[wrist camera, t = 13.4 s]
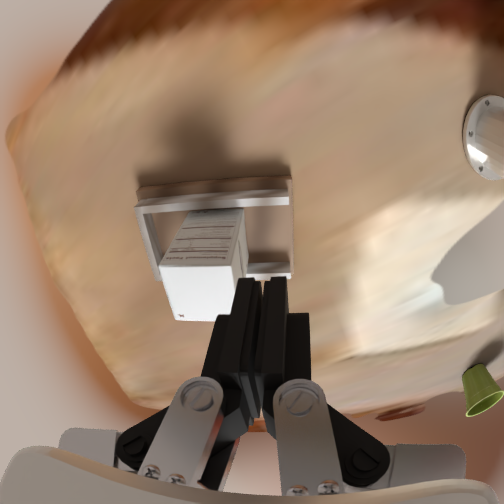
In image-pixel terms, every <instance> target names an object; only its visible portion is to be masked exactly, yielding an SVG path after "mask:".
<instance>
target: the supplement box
mask: <svg viewBox="0 0 504 504" xmlns="http://www.w3.org/2000/svg"><path fill="white" fill-rule="evenodd" d="M248 258H249V254H248V248H247V241H246V231H245V218H244V209H221V210H202V211H190V212H189V213H188V215H187V217H186V218H185V220H184V222H183V224H182V225H181V227H180V229H179V230H178V232H177V234H176V236H175V237H174V239H173V241H172V242H171V244H170V246H169V248H168V250H167V251H166V253H165V255H164V257H163V258H162V260H161V262H160V264H159V271H160V275H161V277H162V281H163V284H164V287H165V290H166V294H167V297H168V300H169V303H170V306H171V309H172V312H173V315H174V318H175V320H186V321H216V318H217V315H218V314H230V312H231V308H232V303H233V299H234V295H235V290H236V286H237V281H238V278H246V271H247V265H248Z"/></svg>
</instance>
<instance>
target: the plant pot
mask: <svg viewBox="0 0 504 504" xmlns="http://www.w3.org/2000/svg"><path fill="white" fill-rule="evenodd" d="M462 381H463V386H464V392H465V397H466V403H467V404H466V408H467V412H466V416H467V417H471V416H475V415H477V414H479V413H481V412H483V411H485V410H487V409H488V408H490V407H492V406H493V405H494V404H496V403H497V402H498V401H499V400H500V399H501V398H502V397H503V395H504V391H503V390H501V389H500V387H499V386H498V385H497V384H496V382H495V381H494V379H493V378H492V376H491V375H490V373H489V372H488V370H487V369H486V367H485V366H484V365H483V364H477V365H475V366H474V367H473V368H471V369H468V370H467V371H466V372H465V373H464V375H463V376H462Z"/></svg>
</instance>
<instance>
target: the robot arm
mask: <svg viewBox="0 0 504 504" xmlns="http://www.w3.org/2000/svg"><path fill="white" fill-rule="evenodd" d="M463 144H464V150H465V154H466V157H467V159H468V161H469V163H470V165H471V167H472V168H473V169H474V170H475V171H476V172H477V173H478V174H479V175H481V176H482V177H484V178H486V179H489V180H500V179H502V178H504V98H503V97H500V96H496V95H486V96H483V97H481V98H479V99H478V100H477V101H476V102H475V103H474V104H473V105H472V106H471V108H470V109H469V111H468V114H467V116H466V119H465V123H464V129H463ZM261 408H262V412H263V417H264V419H265V423H266V428H267V432H268V433H270V435H271V436H273V437H274V438H275V439H276V440H277V450H278V460H279V470H280V480H281V491H282V496H269V495H251V494H239V493H230V492H223V489H224V486H225V483H226V480H227V477H228V475H229V472H230V469H231V466H232V463H233V460H234V457H235V454H236V451H237V448H238V445H239V442H240V436H242V435H243V434H244V433H246V432H247V431H248V427H249V425H253V423H254V418H259V417H260V410H261ZM465 469H466V457H465V453H464V451H463V450H462V449H461V448H460V447H458V446H457V445H452V444H434V445H433V444H429V445H428V444H396V445H395V446H394V445H383V444H382V443H381V442H380V441H378V440H377V439H375V438H374V437H373V436H371V435H370V434H368V433H367V432H365V431H364V430H363V429H361V428H360V427H358V426H357V425H356V424H354V423H353V422H352V421H350V420H349V419H347V418H346V417H345V416H343V415H342V414H341V413H339V412H338V411H337V410H335V409H334V408H333V407H331V406H330V405H329V404H327V402H326V397H325V394H324V392H323V389H322V388H321V387H320V386H319V385H318V384H316V383H315V382H313V381H311V352H310V325H309V313H289V308H288V291H287V277H286V276H276V277H271V279H270V281H265V283H264V292H263V295H262V287H261V282H260V281H255V278H254V277H246V278H238V281H237V286H236V290H235V295H234V299H233V303H232V308H231V312H230V314H218V315H217V318H216V321H215V324H214V328H213V332H212V336H211V339H210V343H209V347H208V351H207V354H206V358H205V362H204V366H203V370H202V373H201V377H195V378H191V379H189V380H187V381H185V382H184V383H183V384H182V385H181V386H180V387H179V389H178V390H177V392H176V394H175V396H174V398H173V400H172V402H171V404H170V406H168V407H166V408H164V409H163V410H161V411H159V412H158V413H156V414H154V415H152V416H151V417H149V418H147V419H145V420H144V421H142V422H140V423H138V424H137V425H135V426H133V427H131V428H129V429H127V430H126V431H125V432H118V431H117V430H101V429H100V430H99V429H84V428H70V429H68V430H66V431H65V432H64V433H63V434H62V436H61V438H60V442H59V447H58V448H54V447H49V446H32V447H27V448H23V449H21V450H19V451H18V452H17V453H16V454H15V455H14V456H13V458H12V459H11V461H10V463H9V464H8V466H7V469H6V470H5V473H4V475H3V477H2V480H1V482H0V504H499V501H498V498H497V496H496V494H495V492H494V490H493V489H492V488H491V487H490V486H488V485H487V484H485V483H483V482H479V481H475V480H467V479H465Z"/></svg>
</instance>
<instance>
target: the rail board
mask: <svg viewBox="0 0 504 504" xmlns="http://www.w3.org/2000/svg"><path fill="white" fill-rule="evenodd" d="M136 193H137V197H138V201H139V202H138V204H137V205H136V206H135V207H134V210H135V213H136V217H137V221H138V224H139V228H140V231H141V235H142V238H143V242H144V245H145V248H146V252H147V255H148V258H149V262H150V265H151V268H152V271H153V274H154V277H155V280H156V281H162V277H161V275H160V271H159V264H160V262H161V260H162V258H163V257H164V255H165V253H166V251H167V250H168V248H169V246H170V244H171V242H172V241H173V239H174V237H175V236H176V234H177V232H178V230H179V229H180V227H181V225H182V224H183V222H184V220H185V218H186V217H187V215H188V213H189V212H190V211H202V210H221V209H244V218H245V231H246V241H247V248H248V254H249V258H248V265H247V271H246V277H254V278H255V280H270V279H271V277H276V276H286V277H287V279H291V275H294V245H293V199H292V177H291V175H289V176H265V177H247V178H231V179H217V180H205V181H194V182H183V183H174V184H164V185H156V186H147V187H140V188H139V189H138V190H137V191H136Z"/></svg>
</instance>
